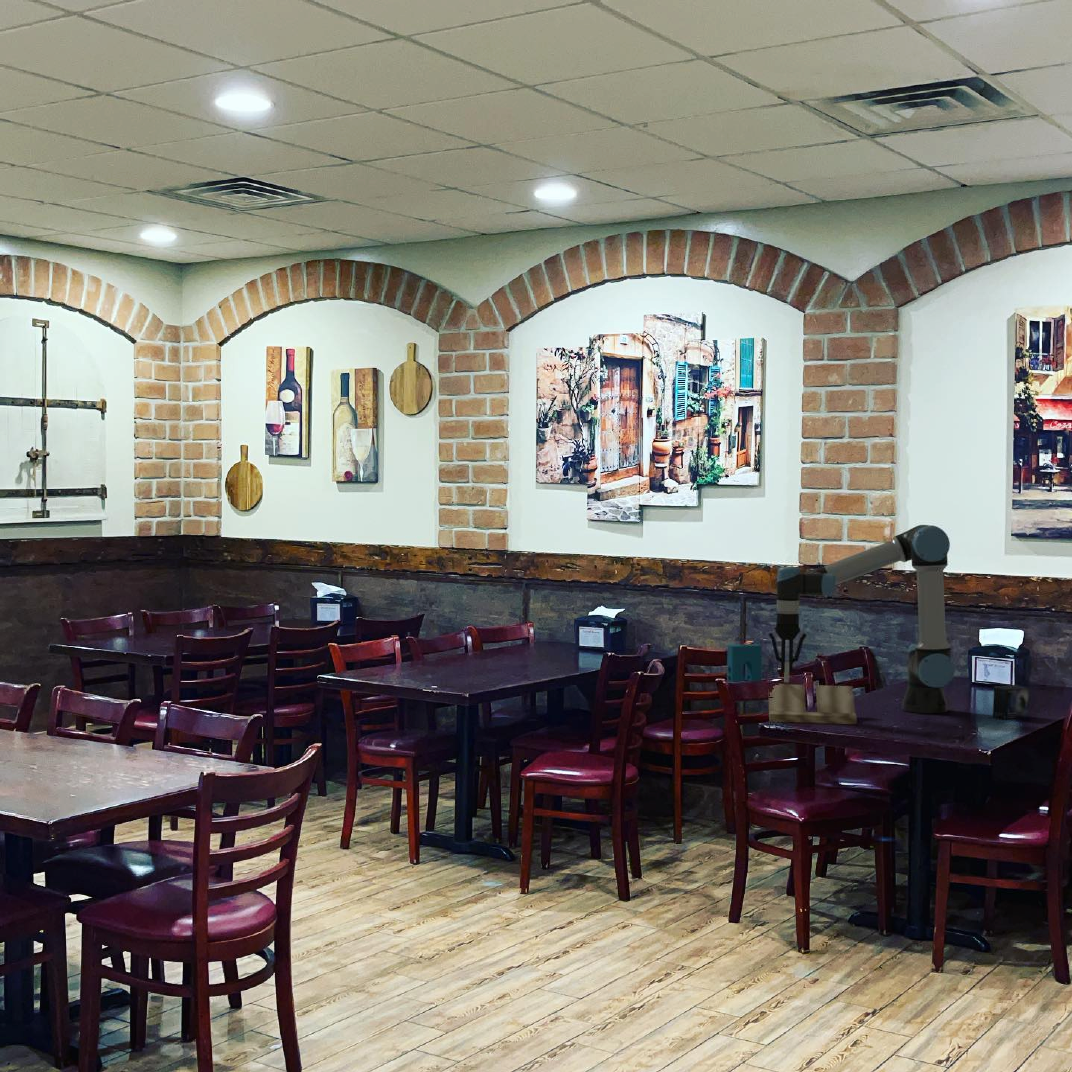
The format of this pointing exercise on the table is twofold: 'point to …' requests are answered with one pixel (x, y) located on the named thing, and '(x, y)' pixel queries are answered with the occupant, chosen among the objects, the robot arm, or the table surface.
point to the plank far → (787, 698)
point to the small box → (1010, 702)
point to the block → (741, 656)
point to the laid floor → (812, 717)
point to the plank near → (835, 699)
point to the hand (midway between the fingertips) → (786, 681)
